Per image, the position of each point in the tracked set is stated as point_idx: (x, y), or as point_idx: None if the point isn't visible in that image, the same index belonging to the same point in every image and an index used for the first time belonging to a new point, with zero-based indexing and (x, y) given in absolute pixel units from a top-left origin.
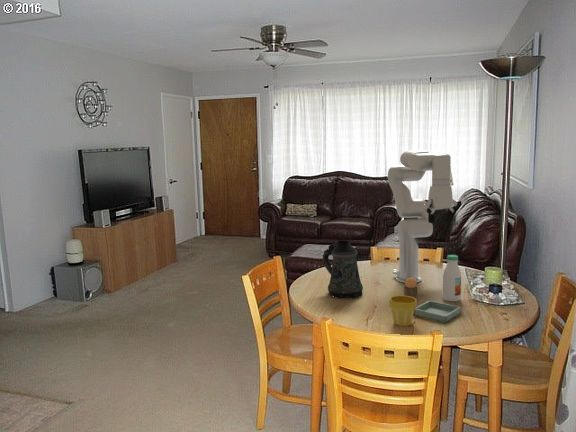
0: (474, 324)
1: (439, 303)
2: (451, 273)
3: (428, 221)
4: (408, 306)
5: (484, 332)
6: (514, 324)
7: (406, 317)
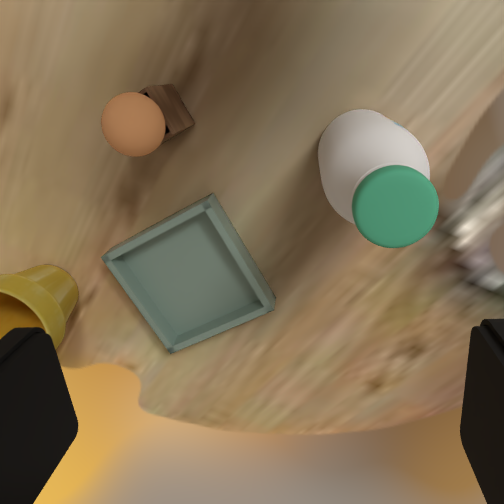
0: (253, 376)
1: (226, 243)
2: (341, 215)
3: (7, 333)
4: None
5: (240, 422)
6: (362, 418)
7: None
